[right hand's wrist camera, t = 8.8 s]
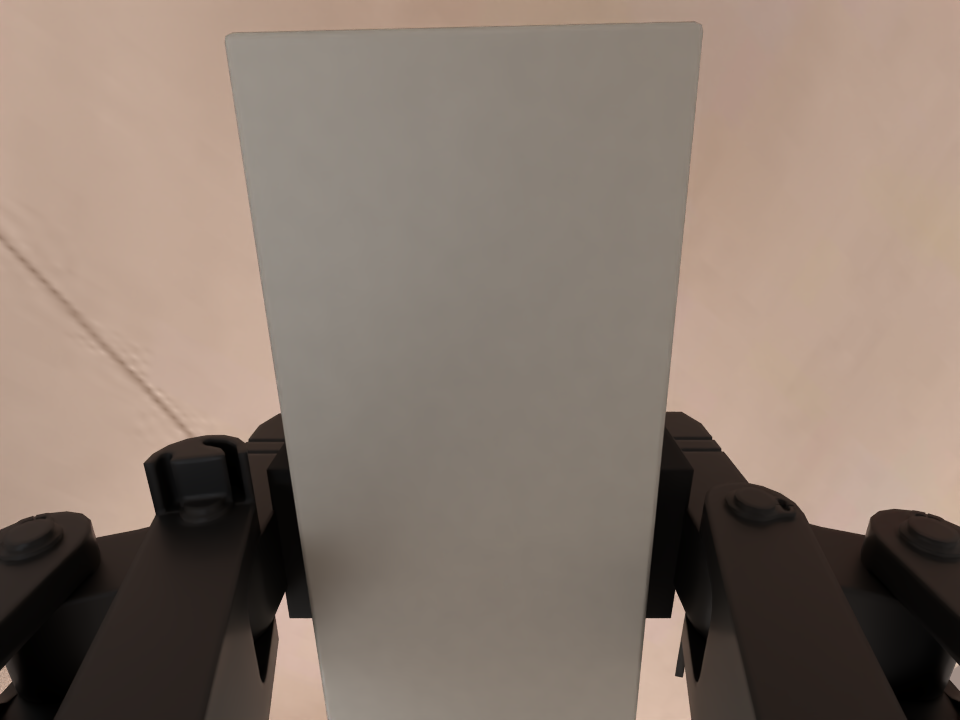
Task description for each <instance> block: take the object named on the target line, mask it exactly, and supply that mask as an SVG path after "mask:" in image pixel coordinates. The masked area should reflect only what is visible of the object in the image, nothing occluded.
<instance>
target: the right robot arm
mask: <svg viewBox="0 0 960 720" xmlns="http://www.w3.org/2000/svg"><path fill="white" fill-rule="evenodd" d="M143 464H144V468H145V472H146V476H147V480H148V484H149V488H150V492H151V496H152V500H153V504H154V508H155V512H156V516H155V518H154V520H153V522H152V524H151V526H150V527H147V528H143V529H139V530H134V531H129V532H123V533H118V534H113V535H108V536H103V537H97V538H96V536H95V533H94V530H93V526H92V523H91V520H90V519H89V518H87V517H86V516H85V515H83V514H81V513H74V512H67V511H66V512H56V513H45V514H40V515H36V517H34V516H32V517H28V518H25V519H22V520H20V521H18V522H17V523H15V524H13V525H10V526H8V527H6V528H3V529H1V530H0V670H1V669H2V668H3V667H4V666H5V665H6V667H7V670H8V672H9V675H10V677H11V680H12V682H11V684H10V685H9V686H8V687H7V688H6V689H5V690H4V691H3V693H1V694H0V720H269V714H270V705H271V697H272V689H273V681H274V673H275V665H276V657H277V649H278V641H279V638H278V631H277V624H276V619H275V614H276V611H277V609H278V607H279V605H280V602H281V600H282V598H283V595H284V593H285V592H286V598H287V605H288V611H289V617H290V618H312V613H311V606H310V600H309V593H308V586H307V580H306V573H305V567H304V560H303V554H302V547H301V540H300V534H299V527H298V521H297V514H296V508H295V501H294V494H293V488H292V481H291V475H290V468H289V461H288V455H287V448H286V442H285V435H284V429H283V422H282V415H281V414H278V415H276V416H274V417H273V418H271V419H269V420H268V421H266V422H264V423H263V424H261V425H259V427H258V428H257V429H256V430H255V432H254V433H253V434H252V436H251V437H250V438H249V441H248V442H246V443H244V442H243V441H241V440H240V439H239V438H236V437H231V436H226V435H205V436H200V437H194V438H189V439H185V440H182V441H179V442H176V443H174V444H171V445H168V446H166V447H164V448H163V449H161V450H159V451H157V452H155V453H154V454H152V455H151V456H150V457H149V458H148V459H147V460H146V461H145V462H144V463H143ZM675 589H676V592H677V594H678V596H679V598H680V601H681V603H682V605H683V608H684V610H685V612H686V613H685V619H684V624H683V630H682V636H681V642H680V648H679V654H678V660H677V666H676V673H675V676H678V677H683V673H684V668H685V672H686V680H687V688H688V696H689V704H690V712H691V720H960V691H959V690H958V689H957V688H956V686H955V685H954V684H953V683H952V682H951V681H950V680H949V679H950V676H951V674H952V671H953V669H954V666H955V664H956V662H957V663H958V664H959V665H960V526H957V525H955V524H952V523H950V522H948V521H945V520H944V519H942V518H941V517H938V516H935V515H932V514H929V513H928V514H925V512H920V511H914V510H912V511H910V510H900V509H890V510H883V511H879V512H877V513H876V514H875V515H873V516H872V517H871V518H870V522H869V525H868V528H867V532H866V535H861V534H855V533H850V532H845V531H840V530H835V529H829V528H824V527H820V526H816V525H812V524H809V523H808V521H807V519H806V517H805V515H804V513H803V512H802V511H801V509H800V508H799V507H798V506H797V505H796V503H794V502H793V501H791V500H790V499H788V498H787V497H785V496H784V495H782V494H781V493H778V492H776V491H773V490H771V489H768V488H766V487H764V486H759V485H755V484H750V483H748V481H747V480H746V479H745V478H744V476H743V475H742V474H741V473H740V471H739V470H738V469H737V468H736V466H735V465H734V464H733V463H732V461H731V460H730V459H729V458H728V456H727V455H726V454H725V453H724V452H722V451H721V448H720V446H719V445H718V444H717V443H716V441H715V440H712V436H711V435H710V434H709V433H708V431H707V430H706V429H705V428H704V426H703V425H702V424H701V423H699V422H698V421H696V420H694V419H693V418H691V417H689V416H688V415H686V414H684V413H683V412H666V415H665V425H664V435H663V445H662V456H661V466H660V476H659V486H658V496H657V507H656V517H655V527H654V537H653V547H652V558H651V568H650V578H649V588H648V598H647V609H646V618H671V614H672V607H673V601H674V595H675Z"/></svg>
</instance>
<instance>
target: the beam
mask: <svg viewBox="0 0 960 720" xmlns="http://www.w3.org/2000/svg"><path fill="white" fill-rule="evenodd" d="M702 37H703V29H702V25H701V24H699V23H697V22H656V23H614V24H572V25H530V26H488V27H446V28H404V29H362V30H320V31H278V32H236V33H231V34H229V35H227V36H226V37H225V47H226V53H227V60H228V67H229V73H230V80H231V86H232V93H233V99H234V106H235V113H236V119H237V126H238V132H239V139H240V146H241V152H242V159H243V165H244V172H245V178H246V185H247V192H248V198H249V205H250V211H251V218H252V225H253V231H254V238H255V244H256V251H257V257H258V264H259V271H260V277H261V284H262V290H263V297H264V303H265V310H266V317H267V323H268V330H269V336H270V343H271V350H272V356H273V363H274V369H275V376H276V382H277V389H278V396H279V402H280V409H281V415H282V422H283V429H284V435H285V442H286V448H287V455H288V461H289V468H290V475H291V481H292V488H293V494H294V501H295V508H296V514H297V521H298V527H299V534H300V540H301V547H302V554H303V560H304V567H305V573H306V580H307V586H308V593H309V600H310V606H311V613H312V619H313V626H314V633H315V639H316V646H317V652H318V659H319V665H320V672H321V679H322V685H323V692H324V698H325V705H326V712H327V718H328V720H636V711H637V700H638V690H639V680H640V670H641V660H642V649H643V639H644V629H645V619H646V609H647V598H648V588H649V578H650V568H651V558H652V547H653V537H654V527H655V517H656V507H657V496H658V486H659V476H660V466H661V456H662V445H663V435H664V425H665V415H666V404H667V394H668V384H669V374H670V364H671V353H672V343H673V333H674V323H675V313H676V302H677V292H678V282H679V272H680V262H681V251H682V241H683V231H684V221H685V211H686V200H687V190H688V180H689V170H690V160H691V149H692V139H693V129H694V119H695V109H696V98H697V88H698V78H699V68H700V57H701V47H702Z"/></svg>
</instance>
